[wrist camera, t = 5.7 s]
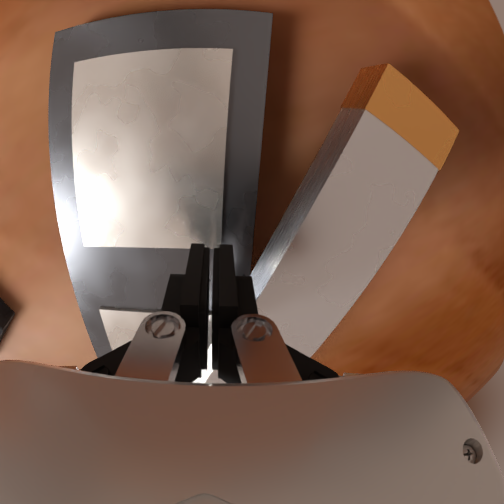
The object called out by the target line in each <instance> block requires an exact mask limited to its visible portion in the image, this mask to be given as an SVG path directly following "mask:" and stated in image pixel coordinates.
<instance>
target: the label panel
mask: <svg viewBox="0 0 504 504" xmlns="http://www.w3.org/2000/svg"><path fill="white" fill-rule="evenodd" d="M272 18H273V13H266V12H256V11H245V10H228V9H184V10H167V11H156V12H147V13H139V14H132V15H125V16H119V17H114V18H109V19H104V20H99V21H95V22H90V23H86V24H82V25H78V26H75V27H71V28H68V29H64V30H61V31H58V32H55V38H54V44H53V52H52V60H51V71H50V84H49V150H50V164H51V175H52V185H53V193H54V200H55V207H56V213H57V219H58V225H59V230H60V235H61V240H62V245H63V249H64V254H65V258H66V262H67V266H68V270H69V274H70V278H71V281H72V285H73V288H74V292H75V295H76V299H77V302H78V305H79V308H80V311H81V314H82V317H83V320H84V323H85V326H86V329H87V331H88V334H89V337H90V339H91V342H92V345H93V347H94V350H95V352H96V355H97V357H98V358H99V357H101V356H103V355H105V354H107V353H109V352H110V351H112V350H114V349H116V348H118V347H120V346H122V345H124V344H126V343H127V342H129V341H131V340H132V339H133V337H134V335H135V333H136V331H137V330H138V328H139V326H140V324H141V322H142V321H143V319H144V318H145V317H147V316H148V315H149V314H152V313H155V312H160V311H161V308H162V304H163V300H164V296H165V292H166V288H167V284H168V281H169V277H170V274H185V272H186V267H187V262H188V257H189V252H190V247H191V243H200V244H205V247H210V266H209V323H208V349H209V347H210V345H211V344H212V283H213V257H214V248H219V244H229V245H233V254H234V266H235V276H250V272H251V260H252V249H253V237H254V226H255V214H256V203H257V191H258V180H259V168H260V157H261V145H262V134H263V122H264V111H265V99H266V88H267V76H268V64H269V53H270V41H271V30H272Z"/></svg>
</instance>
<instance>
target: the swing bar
mask: <svg viewBox="0 0 504 504" xmlns="http://www.w3.org/2000/svg"><path fill="white" fill-rule="evenodd" d="M341 108H342V109H341V111H340V113H339V114H338V116H337V118H336V120H335V122H334V124H333V126H332V127H331V129H330V131H329V133H328V135H327V137H326V139H325V140H324V142H323V144H322V146H321V148H320V150H319V151H318V153H317V155H316V157H315V159H314V161H313V162H312V164H311V166H310V168H309V170H308V172H307V173H306V175H305V177H304V179H303V181H302V183H301V184H300V186H299V188H298V190H297V192H296V194H295V195H294V197H293V199H292V201H291V203H290V204H289V206H288V208H287V210H286V212H285V213H284V215H283V217H282V219H281V221H280V223H279V224H278V226H277V228H276V230H275V232H274V233H273V235H272V237H271V239H270V241H269V242H268V244H267V246H266V248H265V250H264V251H263V253H262V255H261V257H260V258H259V260H258V262H257V264H256V266H255V267H254V269H253V271H252V273H251V275H250V276H251V277H252V281H253V286H254V292H255V298H256V303H257V309H258V314H259V315H263V316H265V317H268V318H270V319H271V320H272V321H273V322H274V323H275V324H276V326H277V328H278V330H279V332H280V334H281V336H282V338H283V340H284V343H285V344H287V345H288V346H290V347H292V348H294V349H295V350H297V351H299V352H301V353H303V354H304V355H306V356H308V357H311V356H312V355H313V354H314V353H315V352H316V350H317V349H318V348H319V347H320V346H321V344H322V343H323V342H324V341H325V340H326V338H327V337H328V336H329V335H330V334H331V332H332V331H333V330H334V329H335V327H336V326H337V325H338V324H339V322H340V321H341V320H342V318H343V317H344V316H345V315H346V313H347V312H348V311H349V309H350V308H351V307H352V305H353V304H354V303H355V302H356V300H357V299H358V297H359V296H360V295H361V293H362V292H363V291H364V289H365V288H366V287H367V285H368V284H369V282H370V281H371V280H372V278H373V277H374V275H375V274H376V272H377V271H378V270H379V268H380V267H381V265H382V264H383V262H384V261H385V259H386V258H387V256H388V255H389V253H390V252H391V250H392V249H393V247H394V246H395V244H396V242H397V241H398V239H399V238H400V236H401V235H402V233H403V231H404V230H405V228H406V227H407V225H408V223H409V222H410V220H411V218H412V217H413V215H414V213H415V212H416V210H417V208H418V206H419V205H420V203H421V201H422V200H423V198H424V196H425V194H426V192H427V191H428V189H429V187H430V185H431V183H432V181H433V180H434V178H435V176H436V174H437V172H438V170H441V168H442V166H443V164H444V162H445V160H446V158H447V156H448V154H449V152H450V150H451V148H452V146H453V144H454V141H455V139H456V137H457V135H458V133H459V129H458V128H457V127H456V126H455V125H454V124H453V123H452V122H451V121H450V120H449V118H448V117H447V116H446V115H445V114H444V113H443V112H442V111H441V110H440V109H439V108H438V107H437V106H436V105H435V104H434V103H433V102H432V101H431V100H430V99H429V98H428V97H427V96H426V95H425V94H424V93H423V92H421V91H420V90H419V89H418V88H417V87H416V86H415V85H414V84H413V83H412V82H410V81H409V80H408V79H407V78H406V77H405V76H403V75H402V74H401V73H400V72H399V71H397V70H396V69H395V68H394V67H393V66H391V65H390V64H389V63H387V64H381V65H376V66H371V67H366V68H361V70H360V72H359V74H358V76H357V77H356V79H355V81H354V83H353V85H352V87H351V89H350V90H349V92H348V94H347V96H346V98H345V100H344V102H343V104H342V105H341ZM192 383H226V382H224V381H223V380H222V379H220V378H218V370H212V344H211V345H210V347H209V349H208V363H207V370H202V378H197V379H196V380H195V381H193V382H192Z"/></svg>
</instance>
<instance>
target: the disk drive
mask: <svg viewBox="0 0 504 504" xmlns="http://www.w3.org/2000/svg"><path fill="white" fill-rule="evenodd" d="M14 315H15V313H14V311H13V310H11V309H10V307H8V306H7V304H5V303H4V301H3V300H2V299H1V298H0V342H1V340H2V337H3V335H4V334H5V332H6V330H7V328H8V326H9V324H10V322H11V320H12V318H13V317H14Z"/></svg>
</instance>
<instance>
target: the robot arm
mask: <svg viewBox="0 0 504 504" xmlns="http://www.w3.org/2000/svg"><path fill="white" fill-rule="evenodd" d="M209 266H210V247H205V244H200V243H191V247H190V252H189V257H188V262H187V267H186V272H185V274H170V277H169V281H168V284H167V288H166V292H165V296H164V300H163V304H162V308H161V311H160V312H155V313H152V314H149V315H148V316H147V317H145V318H144V319H143V321H142V322H141V324H140V326H139V328H138V330H137V331H136V333H135V335H134V337H133V339H132V340H131V341H129V342H127V343H126V344H124V345H122V346H120V347H118V348H116V349H114V350H112V351H110V352H109V353H107V354H105V355H103V356H101V357H99V358H97V359H95V360H93V361H91V362H89V363H88V364H86V365H85V366H84V367H83V368H82V369H78V368H77V366H53V365H47V364H42V363H36V362H30V361H21V360H3V361H0V504H504V477H503V475H502V472H501V470H500V468H499V465H498V463H497V460H496V458H495V456H494V453H493V451H492V449H491V447H490V445H489V443H488V441H487V438H486V437H485V434H484V432H483V430H482V429H481V427H480V425H479V424H478V421H477V420H476V418H475V416H474V414H473V413H472V411H471V409H470V408H469V406H468V405H467V403H466V402H465V400H464V399H463V397H462V396H461V395H460V393H459V392H458V391H457V389H456V388H455V387H454V386H453V385H452V384H451V383H450V382H449V381H447V380H446V379H444V378H443V377H441V376H438V375H435V374H431V373H426V372H420V371H387V372H380V373H371V374H354V373H344V374H343V376H338V374H337V373H336V372H334V371H333V370H331V369H330V368H328V367H326V366H324V365H322V364H321V363H319V362H317V361H315V360H313V359H311V358H310V357H308V356H306V355H304V354H303V353H301V352H299V351H297V350H295V349H294V348H292V347H290V346H288V345H287V344H285V343H284V340H283V338H282V336H281V334H280V332H279V330H278V328H277V326H276V324H275V323H274V322H273V321H272V320H271V319H270V318H268V317H265V316H263V315H259V314H258V309H257V303H256V298H255V292H254V286H253V281H252V277H251V276H235V266H234V254H233V245H229V244H219V248H214V257H213V283H212V370H218V378H220V379H222V380H223V381H224V382H226V383H192V382H193V381H195V380H196V379H197V378H202V370H207V363H208V323H209Z"/></svg>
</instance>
